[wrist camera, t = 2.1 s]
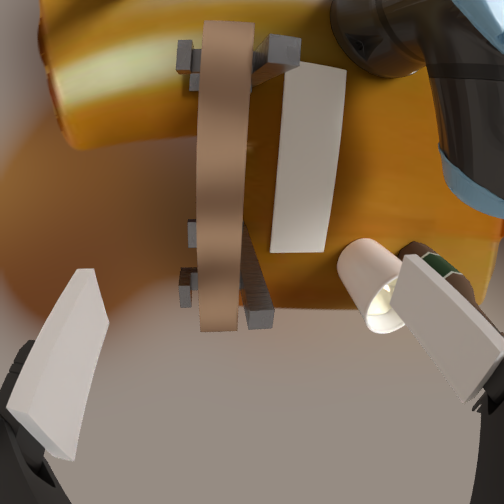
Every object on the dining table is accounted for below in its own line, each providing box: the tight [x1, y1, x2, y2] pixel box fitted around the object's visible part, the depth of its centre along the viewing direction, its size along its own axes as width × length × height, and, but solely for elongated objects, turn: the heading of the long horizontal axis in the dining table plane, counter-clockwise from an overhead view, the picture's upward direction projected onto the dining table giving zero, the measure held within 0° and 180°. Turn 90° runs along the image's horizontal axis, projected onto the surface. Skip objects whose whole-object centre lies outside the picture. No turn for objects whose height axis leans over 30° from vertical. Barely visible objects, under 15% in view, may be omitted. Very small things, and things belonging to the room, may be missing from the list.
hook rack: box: [176, 34, 301, 330], centre depth 27 cm, size 24×8×18 cm, turn 177°
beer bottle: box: [397, 241, 504, 337], centre depth 36 cm, size 8×8×24 cm
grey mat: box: [270, 61, 347, 253], centre depth 36 cm, size 26×8×1 cm, turn 177°
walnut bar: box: [196, 21, 255, 332], centre depth 22 cm, size 24×3×5 cm, turn 177°
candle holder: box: [337, 238, 405, 334], centre depth 40 cm, size 10×10×12 cm
